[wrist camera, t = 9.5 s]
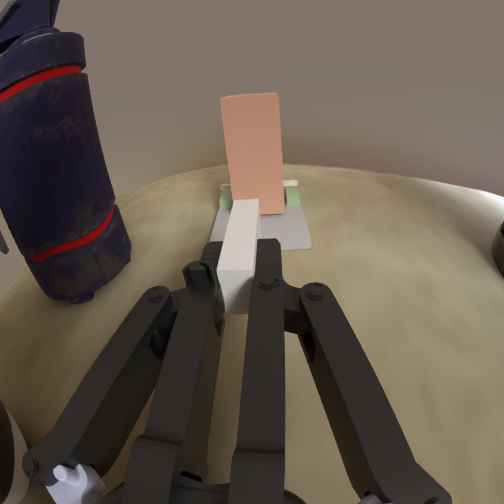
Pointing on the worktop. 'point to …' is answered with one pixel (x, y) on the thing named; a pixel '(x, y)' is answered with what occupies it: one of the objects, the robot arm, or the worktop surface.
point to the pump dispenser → (11, 460)
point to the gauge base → (271, 221)
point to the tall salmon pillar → (255, 150)
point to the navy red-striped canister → (54, 158)
